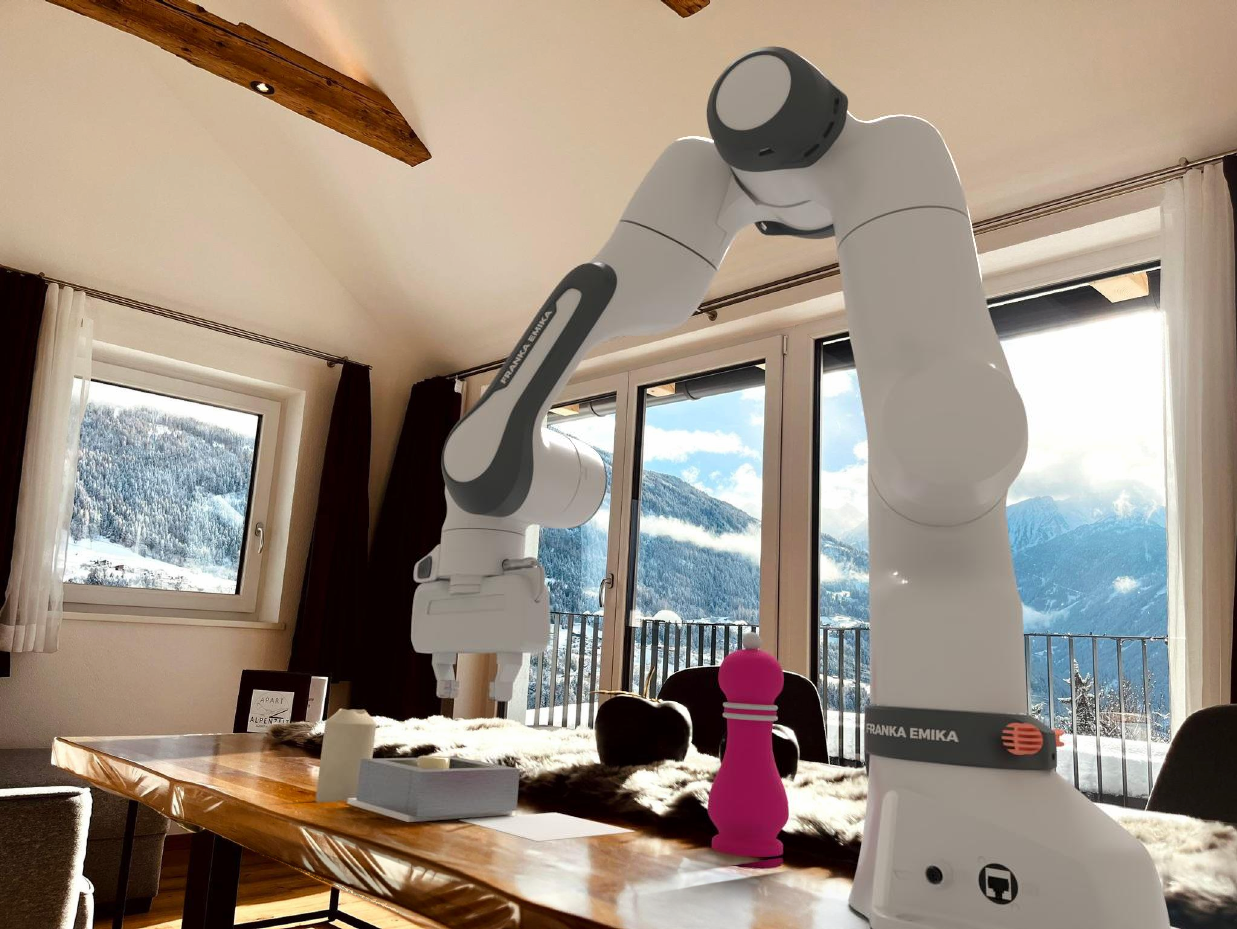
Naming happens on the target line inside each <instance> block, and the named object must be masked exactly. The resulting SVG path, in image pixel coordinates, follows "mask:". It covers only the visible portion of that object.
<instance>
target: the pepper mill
mask: <svg viewBox="0 0 1237 929" xmlns="http://www.w3.org/2000/svg"><path fill="white" fill-rule="evenodd" d="M741 643H742V647H743V648H744V649H738V650H735V651H732V652H730V653H729V654H728V655H726V656H725V657H724V658H723V660H722V662H721V664H720V665H719V670H718V676H717V678H718V684H719V688H720V689H721V691H722V692H723V693H724V695H725V697H726V700H727V701H725V702H723V703H722V706H723V707H724V709H723V713H722V717H723V718H726V727H727V730H726V731H727V738H726V748H725V751H724V755H723V759H722V762H721V764H720V765H719V766H720V767H719V769H718V771H717V773H716V775H715V777H714V780H713V782H712V784H711V788H710V791H709V794H708V799H707V800H708V801H707V808H706V809H707V814H708V816H709V818H710V820H711V821H712V823H713V825H714V826H715V828H716V829H717V831H718V834H716V835H714V836H713V837H712V838H711V848H712V849H713V850H715V851H717V852H720V853H724V854H729V855H733V856H734V855H735V856H741V857H752V858H753V857H754V858H757V857H758V858H770V857H771V859H766V860H765V859H764V860H758V861H750V862H745V863H744V862H743V863H738V864H737V863H736V864H732V865H729V866H731V867H737V868H745V869H757V870H758V869H774V868H778V867H781V866H782V865H783V863H784V858H783V857H779V856H782V855H783V854H784V850H783V849H784V844H783V843H782V841H781V840H779V839H778V838H777V837H778V835H779V833H780V832H781V831H782V830H783V828H784V827H785V826H786V824H787V823H788V821H789V817H790V808H789V800H788V795H787V791H786V788H785V785H784V782H783V781H782V778H781V776H780V773H779V770H778V767H777V765H776V764H777V763H776V761H775V756H774V752H773V738H772V737H773V735H772V734H773V727H774V722H776V721H778V719H779V718H778V716H777V714H778V712H777V710H778V709H779V707H778V706H777V705H775V700H776V698H777V697H778V696H779V695H780V694H781V693H782V691H783V689H784V683H785V682H784V681H785V678H784V677H785V676H784V672H783V667H782V665H781V663H780V662H779V660H778V659H777V658H776V657H774V655H772V654H771V653H769V652H766V651H764V650H761V649H760V648H761V645H762V638H761V636H760V635H759V634H758V633H756V632H754V631H749V632H746V633H745V634H744V635H743V637H742V640H741ZM772 857H778V858H772Z"/></svg>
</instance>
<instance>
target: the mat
mask: <svg viewBox="0 0 1237 929" xmlns="http://www.w3.org/2000/svg"><path fill="white" fill-rule="evenodd" d="M459 821H461V822H464V823H467V824H472V825H475V826H479V827H483V828H486V829H490V830H494V831H497V832H500V833H505V834H508V835H511V836H516V837H519V838H523V839H526V840H529V841H533V842H535V843H536V842H537V843H538V842H540V843H541V842H550V841H558V840H568V839H578V838H590V837H599V836H607V835H617V834H627V833H628V834H629V833H636V832H637V831H636V830H632V829H627V828H623V827H619V826H614V825H610V824H606V823H602V822H598V821H594V820H590V819H585V818H580V817H575V816H571V815H568V814H565V813H564V814H562V813H560V812H559V813H558V812H545V813H532V814H531V813H529V814H518V815H502V816H489V817H475V818H468V819H467V818H462V819H459Z"/></svg>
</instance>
